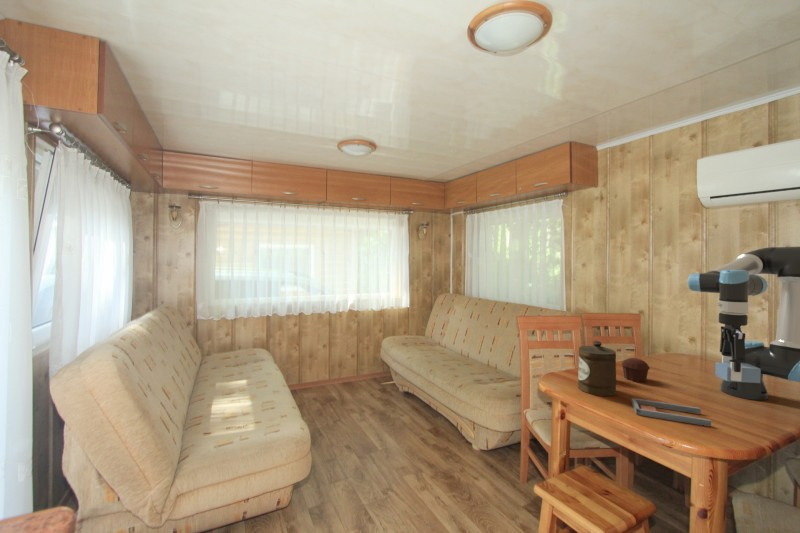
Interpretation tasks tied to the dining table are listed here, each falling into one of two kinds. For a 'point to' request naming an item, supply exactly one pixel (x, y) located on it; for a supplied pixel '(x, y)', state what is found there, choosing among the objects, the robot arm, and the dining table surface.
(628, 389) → the dining table surface
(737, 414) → the dining table surface
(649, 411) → the grey flat frame
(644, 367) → the muffin
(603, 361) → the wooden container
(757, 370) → the slate block
